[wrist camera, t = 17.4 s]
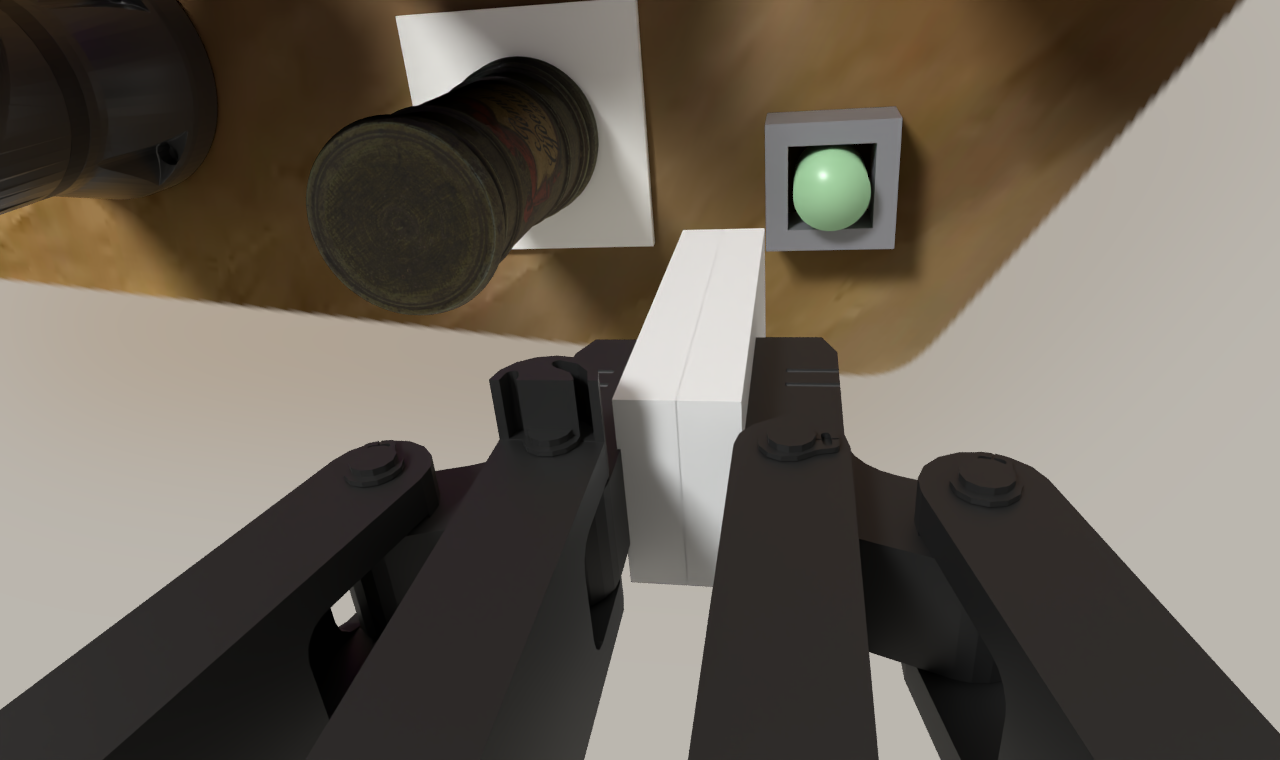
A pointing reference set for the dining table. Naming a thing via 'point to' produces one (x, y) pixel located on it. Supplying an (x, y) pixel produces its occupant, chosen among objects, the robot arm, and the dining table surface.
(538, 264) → the dining table surface
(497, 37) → the paper sheet
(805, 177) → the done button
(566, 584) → the robot arm
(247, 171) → the dining table surface
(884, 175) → the button housing
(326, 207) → the container
